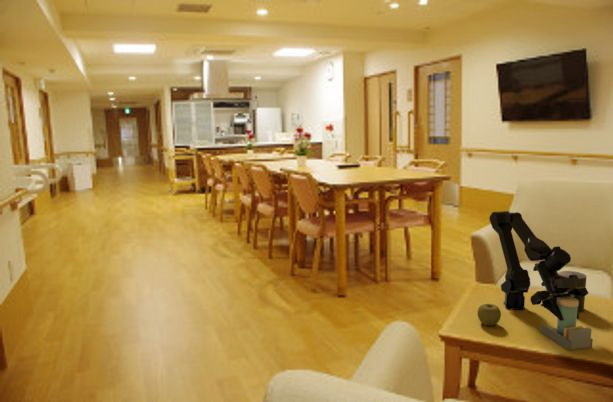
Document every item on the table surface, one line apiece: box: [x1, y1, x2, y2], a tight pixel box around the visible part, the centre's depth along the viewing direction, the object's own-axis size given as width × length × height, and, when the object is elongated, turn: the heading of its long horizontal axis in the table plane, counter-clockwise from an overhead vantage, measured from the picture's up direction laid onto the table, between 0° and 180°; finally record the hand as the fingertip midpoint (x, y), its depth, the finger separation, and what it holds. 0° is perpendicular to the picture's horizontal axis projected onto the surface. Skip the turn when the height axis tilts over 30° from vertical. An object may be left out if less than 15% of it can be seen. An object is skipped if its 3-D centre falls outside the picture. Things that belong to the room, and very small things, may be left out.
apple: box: [477, 303, 502, 327], centre depth 177 cm, size 8×8×7 cm
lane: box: [539, 323, 594, 352], centre depth 164 cm, size 14×9×6 cm, turn 11°
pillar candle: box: [557, 270, 587, 314], centre depth 189 cm, size 10×10×15 cm
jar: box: [556, 297, 579, 337], centre depth 163 cm, size 6×6×13 cm
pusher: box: [564, 325, 584, 339], centre depth 161 cm, size 1×6×5 cm, turn 101°
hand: (570, 319), depth 162 cm, fingers closed on jar, 5 cm apart
